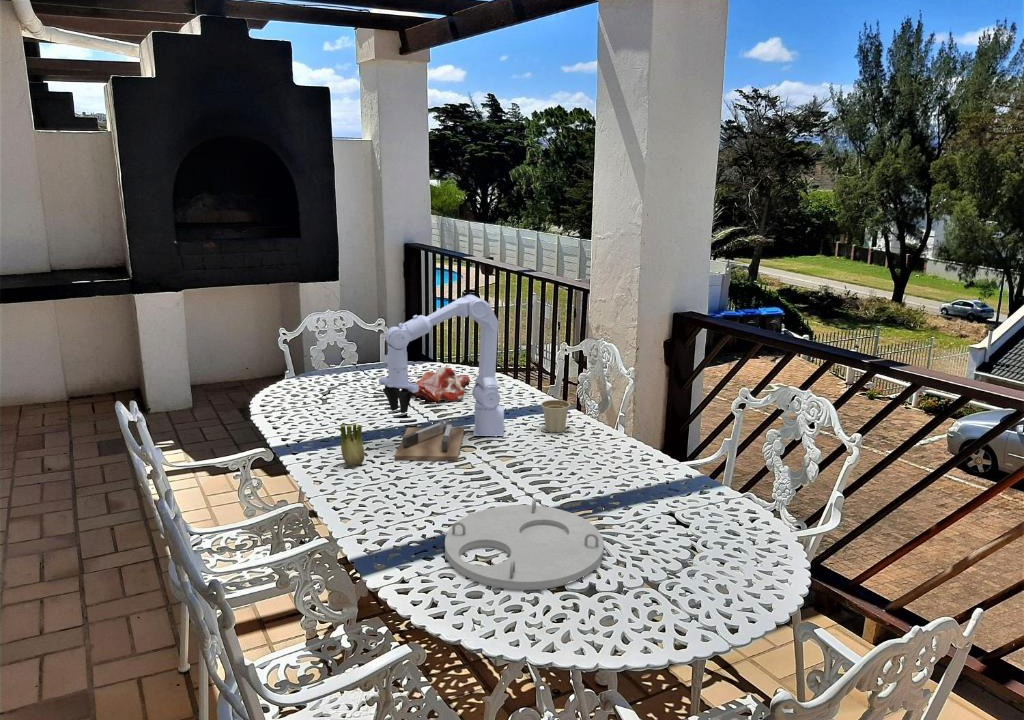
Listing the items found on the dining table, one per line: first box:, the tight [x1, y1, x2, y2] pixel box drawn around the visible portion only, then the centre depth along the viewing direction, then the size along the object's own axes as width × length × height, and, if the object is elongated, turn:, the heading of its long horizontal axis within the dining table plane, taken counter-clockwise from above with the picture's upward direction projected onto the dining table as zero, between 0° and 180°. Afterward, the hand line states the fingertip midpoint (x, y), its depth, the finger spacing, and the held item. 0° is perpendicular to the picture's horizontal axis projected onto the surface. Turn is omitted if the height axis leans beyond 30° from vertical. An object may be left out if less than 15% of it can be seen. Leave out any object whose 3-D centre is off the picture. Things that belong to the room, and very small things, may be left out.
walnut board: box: [394, 427, 465, 462], centre depth 220 cm, size 18×24×2 cm
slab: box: [444, 498, 605, 591], centre depth 160 cm, size 35×35×5 cm
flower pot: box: [540, 399, 571, 433], centre depth 234 cm, size 9×9×9 cm
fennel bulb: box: [339, 423, 365, 467], centre depth 204 cm, size 6×5×12 cm
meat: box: [412, 366, 471, 403], centre depth 269 cm, size 21×21×10 cm
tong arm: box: [402, 419, 450, 448], centre depth 221 cm, size 19×3×3 cm, turn 144°
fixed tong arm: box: [442, 424, 453, 452], centre depth 218 cm, size 15×2×3 cm, turn 179°
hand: (399, 411), depth 219 cm, fingers open, 3 cm apart
